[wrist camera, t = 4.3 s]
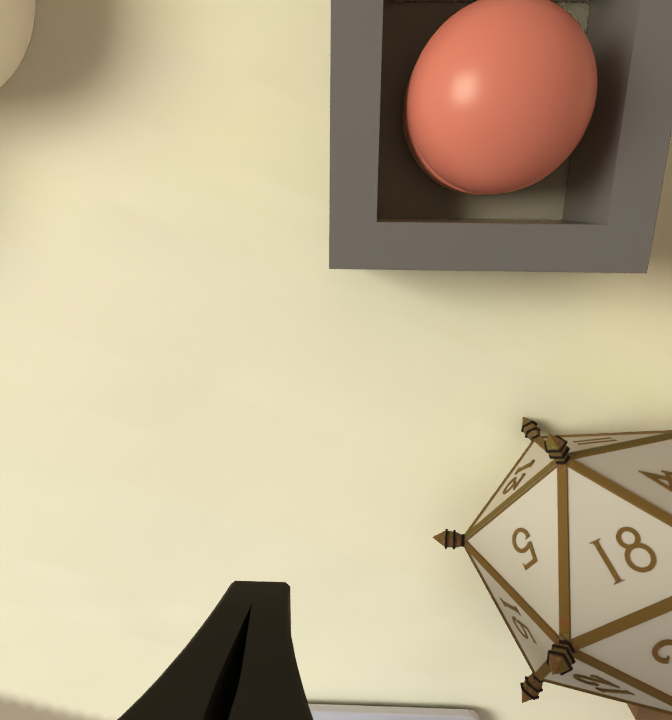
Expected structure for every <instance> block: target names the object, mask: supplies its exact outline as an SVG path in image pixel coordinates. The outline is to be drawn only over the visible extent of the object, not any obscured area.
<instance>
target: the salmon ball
mask: <svg viewBox="0 0 672 720" xmlns="http://www.w3.org/2000/svg"><path fill="white" fill-rule="evenodd" d="M597 83H598V82H597V67H596V61H595V56H594V53H593V50H592V47H591V44H590V42H589V40H588V38H587V36H586V34H585V32H584V31H583V29H582V28H581V26H580V25H579V23H578V22H577V21H576V20H575V19H574V18H573V17H572V15H571V14H569V13H568V12H567V11H566V10H564V9H563V8H562V7H561V6H559V5H557V4H556V3H554V2H552V1H550V0H478V1H475V2H473V3H471V4H469V5H468V6H466V7H464V8H462V9H461V10H459V11H458V12H456V13H455V14H454V15H452V16H451V17H450V18H449V19H448V20H447V21H445V22H444V23H443V24H442V25H441V26H440V27H439V29H438V30H437V31H436V32H435V33H434V35H433V36H432V37H431V38H430V40H429V41H428V43H427V44H426V46H425V47H424V49H423V50H422V52H421V55H420V57H419V59H418V61H417V63H416V65H415V67H414V69H413V71H412V73H411V75H410V78H409V81H408V84H407V86H406V90H405V95H404V99H403V109H402V117H403V128H404V134H405V138H406V141H407V144H408V147H409V149H410V152H411V154H412V156H413V157H414V159H415V161H416V162H417V164H418V165H419V166H420V168H421V169H422V170H423V171H424V172H425V173H426V174H427V175H428V176H429V177H430V178H431V179H432V180H434V181H435V182H436V183H438V184H440V185H441V186H443V187H445V188H447V189H450V190H452V191H455V192H459V193H463V194H470V195H492V194H504V193H509V192H514V191H517V190H520V189H523V188H526V187H528V186H530V185H532V184H535V183H537V182H538V181H540V180H542V179H543V178H545V177H546V176H548V175H549V174H550V173H552V172H553V171H554V170H555V169H556V168H558V167H559V166H560V165H561V164H562V163H563V162H564V161H565V160H566V159H567V158H568V157H569V156H570V154H571V153H572V152H573V150H574V149H575V148H576V146H577V145H578V143H579V142H580V140H581V138H582V137H583V135H584V133H585V131H586V128H587V126H588V124H589V122H590V119H591V116H592V113H593V110H594V106H595V101H596V96H597Z"/></svg>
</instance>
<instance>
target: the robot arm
mask: <svg viewBox="0 0 672 720" xmlns="http://www.w3.org/2000/svg"><path fill="white" fill-rule="evenodd" d="M118 720H480V717H479V715H478V714H477V712H475V711H473V710H469V709H446V708H417V707H388V706H359V705H330V704H308V702H307V699H306V696H305V692H304V689H303V686H302V682H301V678H300V675H299V671H298V667H297V663H296V658H295V654H294V648H293V643H292V638H291V612H290V586H289V585H288V584H287V583H286V582H256V581H234V582H233V583H232V584H231V585H230V586H229V588H228V589H227V591H226V593H225V594H224V596H223V597H222V599H221V600H220V602H219V603H218V604H217V606H216V607H215V609H214V610H213V612H212V613H211V614H210V616H209V617H208V618H207V620H206V621H205V623H204V624H203V625H202V626H201V628H200V629H199V630H198V632H197V633H196V634H195V635H194V637H193V638H192V639H191V641H190V642H189V643H188V644H187V646H186V647H185V648H184V649H183V651H182V652H181V653H180V654H179V655H178V657H177V658H176V659H175V660H174V661H173V662H172V663H171V665H170V666H169V667H168V668H167V669H166V670H165V672H164V673H163V674H162V675H161V676H160V677H159V678H158V679H157V681H156V682H155V683H154V684H153V685H152V686H151V687H150V688H149V689H148V690H147V691H146V692H145V693H144V694H143V695H142V696H141V697H140V698H139V699H138V700H137V701H136V702H135V703H134V704H133V705H132V706H131V707H130V708H129V709H128V710H127V711H126V712H125V713H124V714H123V715H122V716H121V717H120V718H119V719H118Z"/></svg>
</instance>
